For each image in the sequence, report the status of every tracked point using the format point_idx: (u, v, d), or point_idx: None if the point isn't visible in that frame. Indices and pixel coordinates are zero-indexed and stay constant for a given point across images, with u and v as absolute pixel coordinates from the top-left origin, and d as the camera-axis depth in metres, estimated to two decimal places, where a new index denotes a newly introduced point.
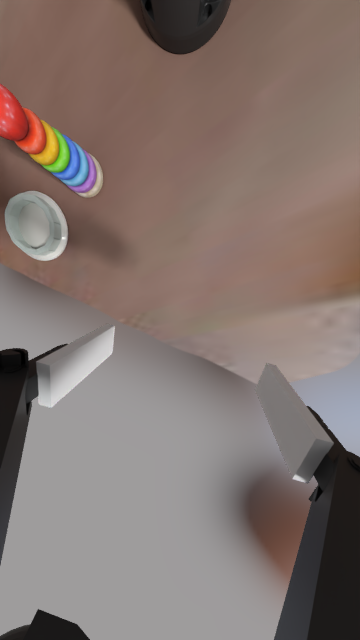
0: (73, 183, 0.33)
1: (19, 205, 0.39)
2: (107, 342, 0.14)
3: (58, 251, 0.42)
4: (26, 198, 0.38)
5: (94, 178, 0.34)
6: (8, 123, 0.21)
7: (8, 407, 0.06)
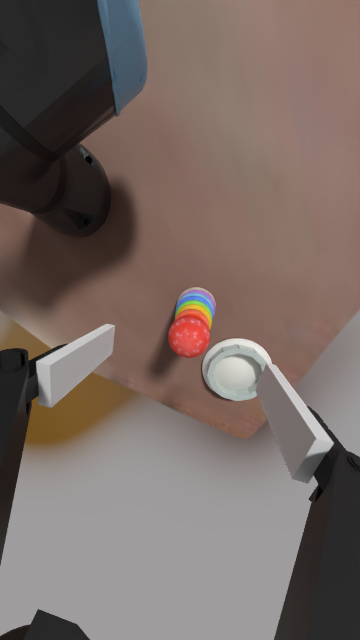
0: (213, 310, 0.30)
1: (215, 381, 0.39)
2: (107, 342, 0.14)
3: (264, 354, 0.36)
4: (212, 371, 0.37)
5: (204, 291, 0.32)
6: (205, 327, 0.19)
7: (8, 407, 0.06)
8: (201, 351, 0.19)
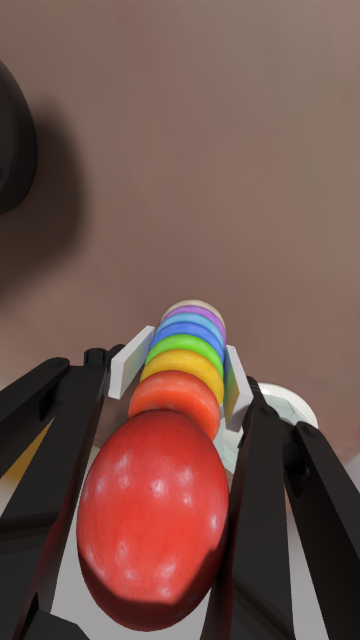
0: (223, 347, 0.16)
1: (223, 448, 0.24)
2: (149, 342, 0.16)
3: (306, 410, 0.22)
4: (219, 437, 0.22)
5: (206, 309, 0.17)
6: (213, 501, 0.05)
7: (89, 400, 0.07)
8: None
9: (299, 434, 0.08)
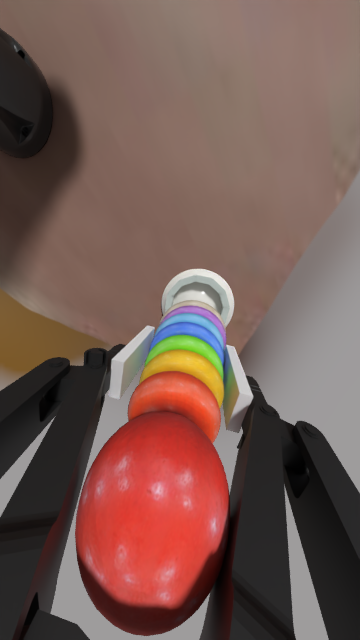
0: (223, 347, 0.16)
1: None
2: (149, 342, 0.16)
3: (225, 285, 0.34)
4: (170, 304, 0.34)
5: (206, 309, 0.17)
6: (213, 504, 0.05)
7: (89, 399, 0.07)
8: None
9: (299, 434, 0.08)
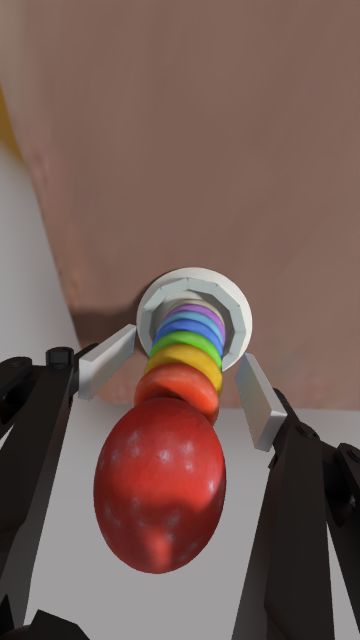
0: (222, 344, 0.17)
1: (155, 309, 0.21)
2: (130, 341, 0.15)
3: (241, 348, 0.22)
4: (172, 292, 0.19)
5: (206, 307, 0.18)
6: (211, 470, 0.06)
7: (55, 401, 0.07)
8: None
9: (343, 457, 0.07)
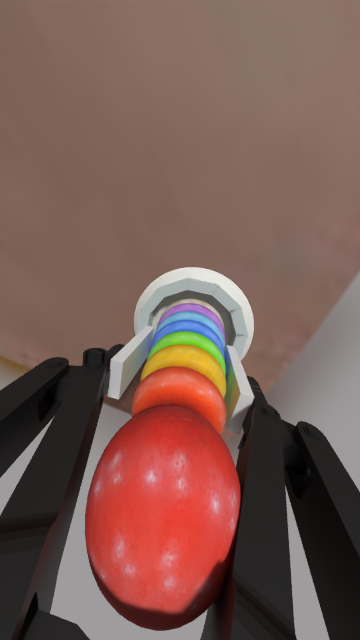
0: (202, 317, 0.15)
1: None
2: (149, 342, 0.16)
3: (239, 295, 0.20)
4: None
5: (169, 309, 0.18)
6: (146, 460, 0.05)
7: (88, 400, 0.07)
8: (222, 555, 0.04)
9: (300, 434, 0.08)
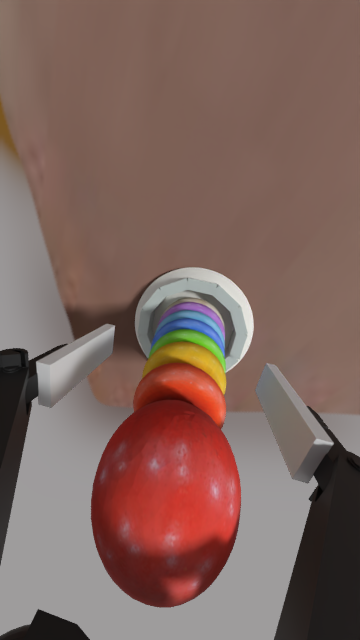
0: (202, 316, 0.16)
1: (154, 310, 0.21)
2: (107, 342, 0.14)
3: (242, 350, 0.22)
4: (171, 292, 0.19)
5: (170, 308, 0.18)
6: (149, 449, 0.05)
7: (8, 407, 0.06)
8: (222, 537, 0.04)
9: None
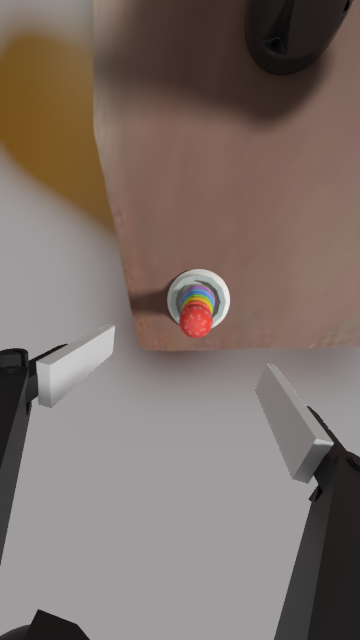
0: (203, 290, 0.35)
1: (178, 291, 0.40)
2: (107, 342, 0.14)
3: (224, 312, 0.41)
4: (188, 281, 0.38)
5: (188, 288, 0.38)
6: (193, 306, 0.25)
7: (8, 407, 0.06)
8: (207, 319, 0.24)
9: None
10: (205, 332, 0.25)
